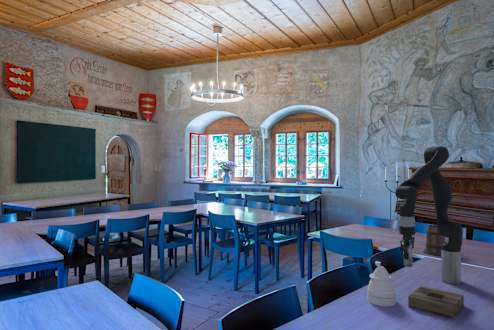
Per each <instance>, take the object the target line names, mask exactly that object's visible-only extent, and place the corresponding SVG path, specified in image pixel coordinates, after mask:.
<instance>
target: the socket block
mask: <svg viewBox="0 0 494 330" xmlns="http://www.w3.org/2000/svg"><path fill="white" fill-rule="evenodd" d="M407 297H408V299H407V301H408V308H411V309H415V310H419V311H422V312H426V313H429V314H430V313H431V314H433V315H437V316H441V317H445V318H448V319H453V320H454V319H455V317H457V315H458V313H459V312H460V311H461V310H462V309H463V307H465V306H464V305H465V303H464V301H465V297H464V294H461V293H457V292H451V291H447V290H443V289H439V288H433V287H430V286H424V285H421V286H419V287H418V288H416V289H415V290H414V291H412V293H410V294H409V295H407Z"/></svg>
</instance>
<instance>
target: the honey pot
mask: <svg viewBox="0 0 494 330" xmlns="http://www.w3.org/2000/svg"><path fill="white" fill-rule="evenodd" d="M381 263H382V262H381V261H374V264H375V266H376V268H375V269H374V270H373V273H370V274H369V278H370V280H369V282H368V286H367V287H366V292H367V293H366V295H367V296H366V297H367V299H366V300H367V301H368V302H369V303H370V304H372V305H374V306H381V307H392V306H395V305H396V304H397V291H396V289H395V286H394V283H393V280H392V278H393V277H392V275H390V274H389V272H388V271H387V269H386V268H385V267H384V266H383V265H381Z"/></svg>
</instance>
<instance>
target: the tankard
mask: <svg viewBox="0 0 494 330" xmlns="http://www.w3.org/2000/svg"><path fill="white" fill-rule="evenodd" d="M425 234H426V237H425V238H426V239H425V240H426V241H425V249H424V250H423V251H422V253H423V254H424V255H427V256H432V257H442V255H441V245H442V244H444V243H448V242H447V241H446V237H444V236H441V235H440V234H439V232H438V229H437V224H428V225H427V227H426V231H425Z"/></svg>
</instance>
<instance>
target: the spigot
mask: <svg viewBox="0 0 494 330" xmlns="http://www.w3.org/2000/svg"><path fill="white" fill-rule="evenodd" d="M407 246H408V245H407ZM403 266H404V267H407V268H409V267H410V268H412V267H413V250H412V244H410V248H409V259H408V260H406V259H404V258H403Z"/></svg>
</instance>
